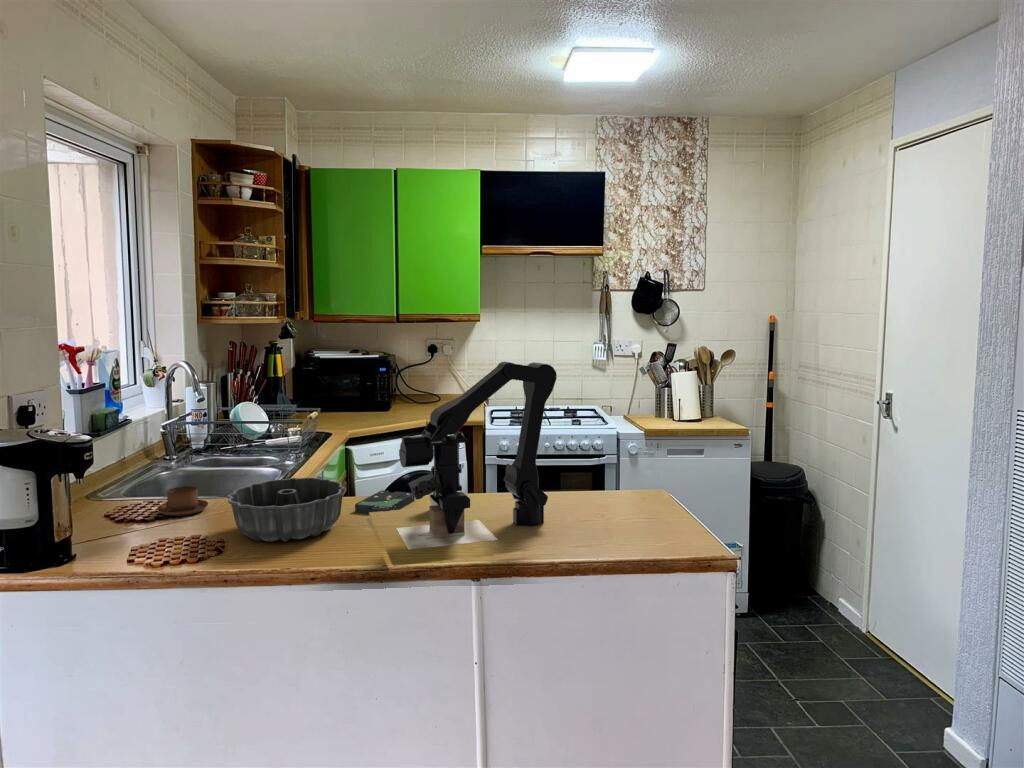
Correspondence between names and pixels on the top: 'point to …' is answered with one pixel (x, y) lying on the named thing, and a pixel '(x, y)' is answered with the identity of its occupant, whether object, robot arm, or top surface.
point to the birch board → (424, 539)
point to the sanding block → (443, 523)
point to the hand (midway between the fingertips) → (448, 529)
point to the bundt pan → (286, 508)
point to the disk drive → (384, 502)
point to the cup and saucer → (182, 502)
